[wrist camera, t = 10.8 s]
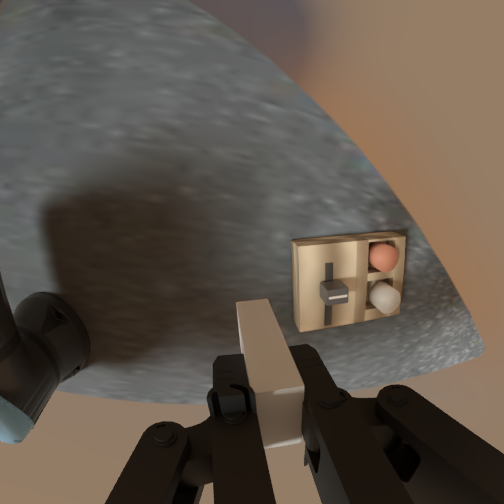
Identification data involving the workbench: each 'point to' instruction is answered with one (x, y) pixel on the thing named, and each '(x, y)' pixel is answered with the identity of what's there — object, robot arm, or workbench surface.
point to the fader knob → (334, 292)
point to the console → (340, 278)
